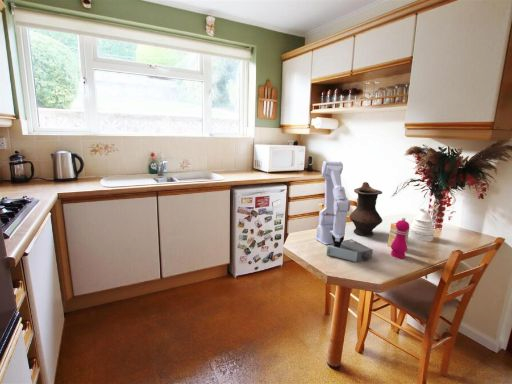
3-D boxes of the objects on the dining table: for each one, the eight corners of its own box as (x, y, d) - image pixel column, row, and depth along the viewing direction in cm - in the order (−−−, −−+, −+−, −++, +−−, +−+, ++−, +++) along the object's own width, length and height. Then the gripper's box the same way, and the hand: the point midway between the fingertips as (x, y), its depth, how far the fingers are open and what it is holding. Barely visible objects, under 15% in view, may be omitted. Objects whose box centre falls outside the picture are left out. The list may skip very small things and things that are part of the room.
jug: (383, 240, 164) (391, 189, 157) (350, 237, 167) (356, 186, 160) (374, 228, 184) (381, 182, 178) (345, 225, 187) (350, 180, 180)
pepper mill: (397, 259, 140) (403, 220, 136) (386, 253, 147) (392, 215, 142) (409, 258, 142) (415, 219, 138) (398, 252, 149) (404, 215, 145)
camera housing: (335, 249, 148) (337, 241, 147) (350, 247, 153) (351, 238, 152) (358, 262, 135) (359, 252, 134) (373, 259, 139) (374, 249, 138)
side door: (325, 255, 140) (326, 246, 139) (327, 253, 142) (327, 245, 141) (355, 262, 134) (356, 253, 133) (356, 260, 136) (357, 252, 135)
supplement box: (386, 245, 157) (390, 222, 154) (393, 244, 159) (397, 222, 156) (399, 251, 150) (403, 227, 147) (406, 250, 151) (410, 227, 148)
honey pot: (410, 239, 168) (415, 209, 164) (406, 232, 180) (411, 204, 176) (435, 243, 164) (441, 212, 160) (429, 235, 176) (434, 207, 173)
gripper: (332, 218, 148) (329, 243, 151) (329, 227, 134) (327, 254, 137) (346, 220, 145) (343, 245, 148) (345, 229, 132) (342, 256, 135)
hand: (336, 250), depth 143 cm, fingers closed
